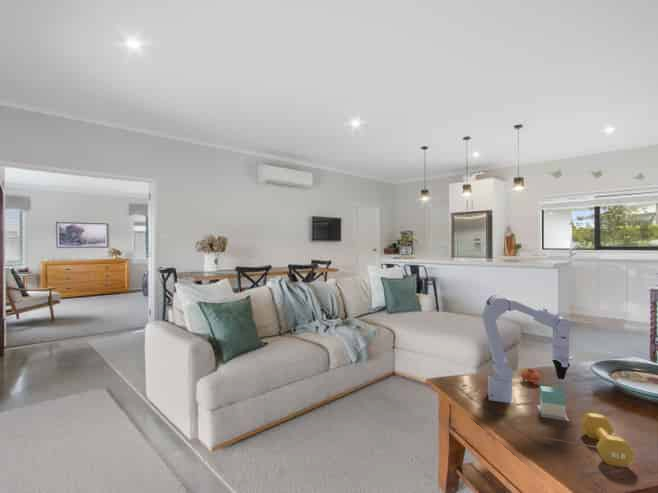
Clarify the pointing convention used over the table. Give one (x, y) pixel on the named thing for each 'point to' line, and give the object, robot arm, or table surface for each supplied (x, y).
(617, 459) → the dumbbell
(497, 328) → the robot arm
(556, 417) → the build board
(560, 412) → the brick cream
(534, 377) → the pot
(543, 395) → the brick teal
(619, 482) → the table surface
